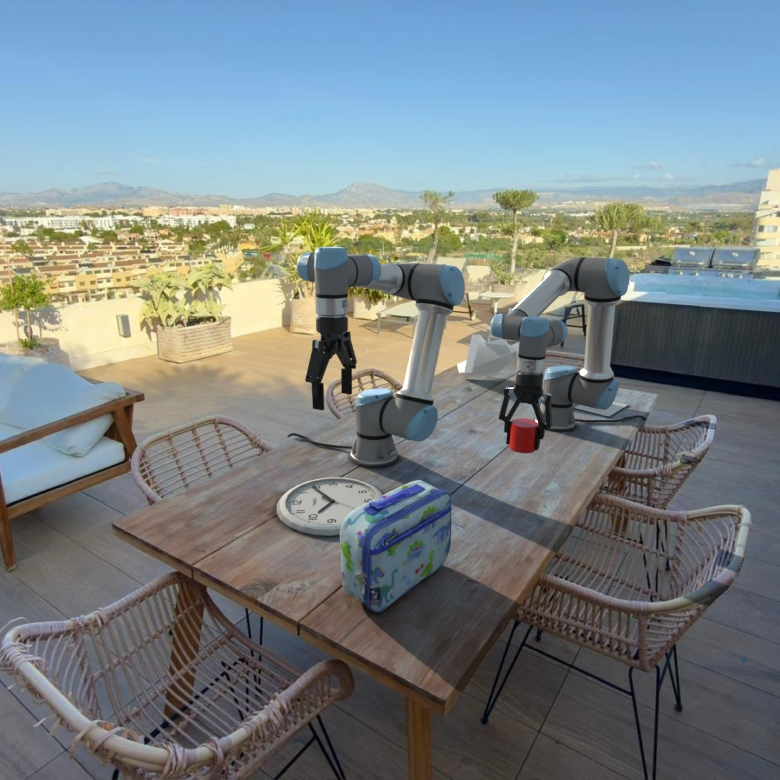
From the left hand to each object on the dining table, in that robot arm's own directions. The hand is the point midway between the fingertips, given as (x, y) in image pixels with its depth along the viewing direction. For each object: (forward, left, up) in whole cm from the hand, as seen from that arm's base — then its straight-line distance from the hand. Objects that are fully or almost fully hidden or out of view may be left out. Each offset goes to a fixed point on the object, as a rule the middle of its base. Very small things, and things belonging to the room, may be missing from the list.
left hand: (333, 401), depth 129 cm
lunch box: (+26, -18, -32) cm, 45 cm away
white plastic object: (+9, +138, -32) cm, 142 cm away
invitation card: (+58, +128, -32) cm, 144 cm away
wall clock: (-3, +4, -32) cm, 32 cm away
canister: (+40, +42, -21) cm, 61 cm away
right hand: (+40, +42, -20) cm, 61 cm away
